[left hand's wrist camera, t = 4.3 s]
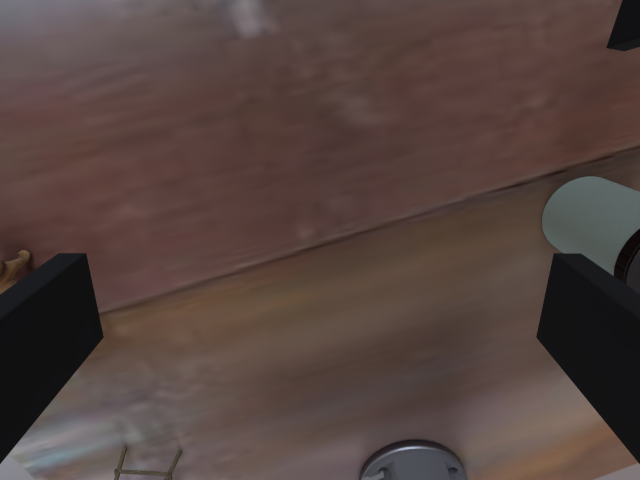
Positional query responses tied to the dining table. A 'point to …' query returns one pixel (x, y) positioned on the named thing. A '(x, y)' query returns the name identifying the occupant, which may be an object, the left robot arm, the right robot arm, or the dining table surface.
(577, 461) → the dining table surface
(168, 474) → the miniature windmill
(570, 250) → the jar
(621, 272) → the lid
